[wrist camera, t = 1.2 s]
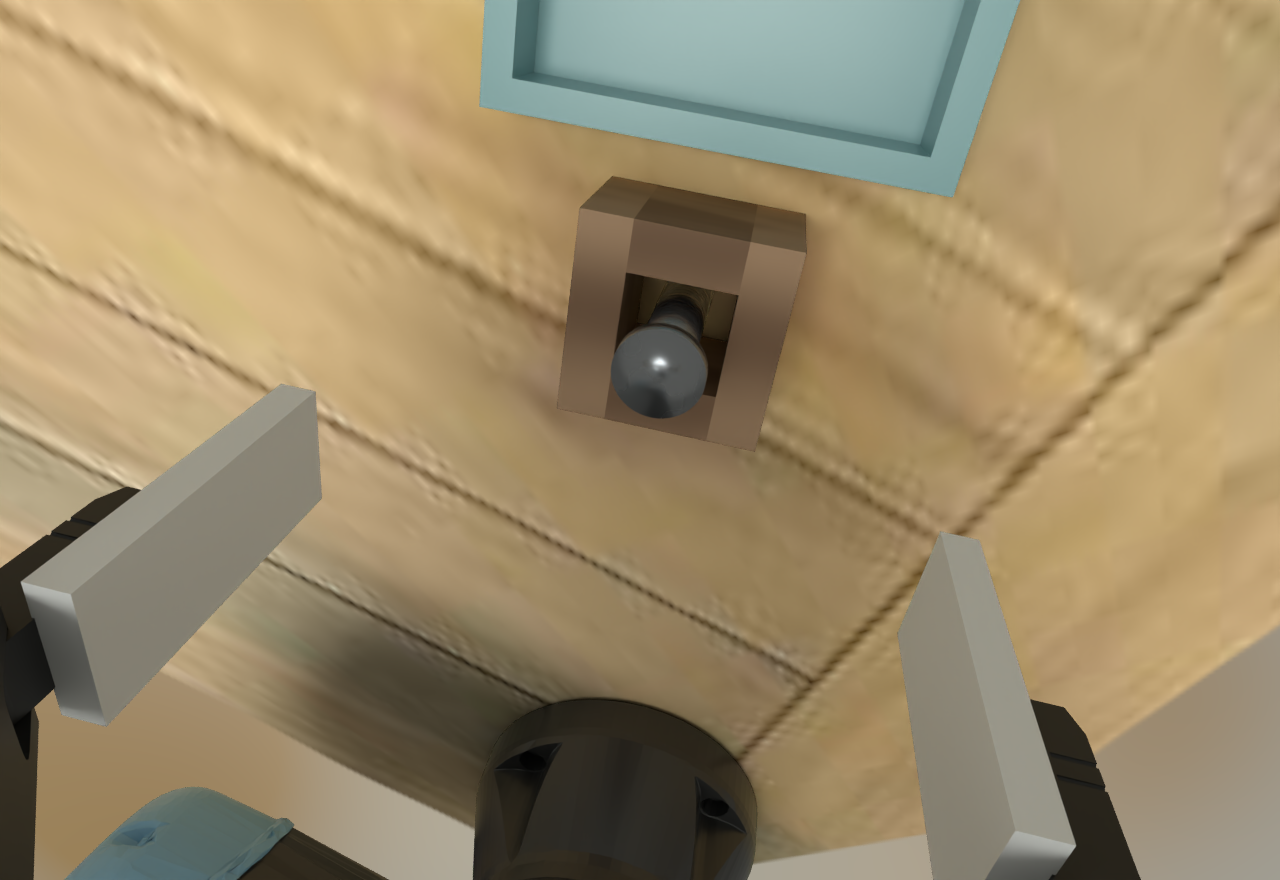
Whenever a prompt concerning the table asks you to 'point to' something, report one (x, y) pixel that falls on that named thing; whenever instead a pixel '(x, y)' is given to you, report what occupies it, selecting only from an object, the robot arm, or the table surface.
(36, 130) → the table surface
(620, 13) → the tray
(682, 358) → the metal bolt
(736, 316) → the collar
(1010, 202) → the table surface
